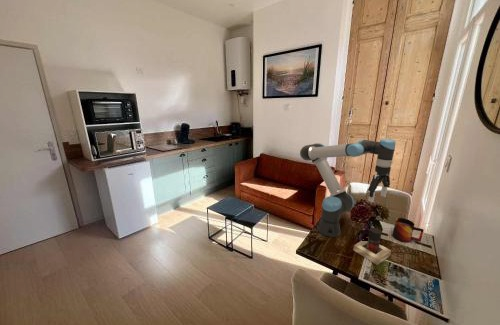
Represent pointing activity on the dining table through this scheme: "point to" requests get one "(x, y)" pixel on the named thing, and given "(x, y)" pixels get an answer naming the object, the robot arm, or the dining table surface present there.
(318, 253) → the dining table surface
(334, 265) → the dining table surface
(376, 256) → the socket block
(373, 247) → the deodorant
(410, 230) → the mug
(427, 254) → the dining table surface
